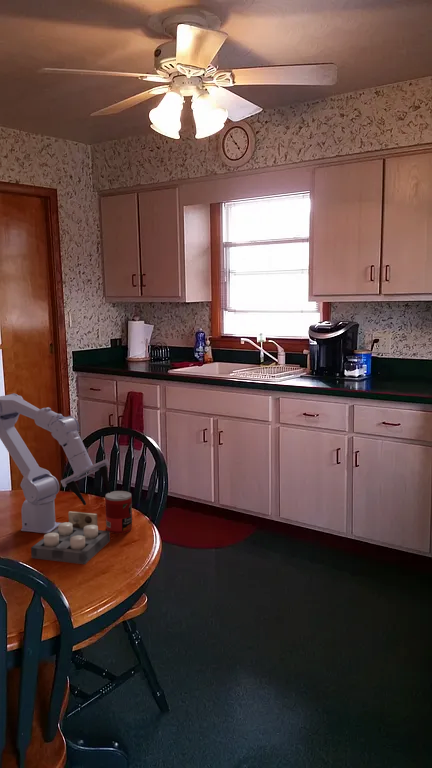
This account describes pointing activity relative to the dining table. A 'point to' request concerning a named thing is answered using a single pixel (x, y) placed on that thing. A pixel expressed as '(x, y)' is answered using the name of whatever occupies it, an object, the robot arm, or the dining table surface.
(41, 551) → the button board
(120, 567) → the dining table surface
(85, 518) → the pattern plaque
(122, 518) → the canned food
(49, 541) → the button near left
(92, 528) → the button far right
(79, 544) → the button near right
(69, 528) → the button far left
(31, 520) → the robot arm
